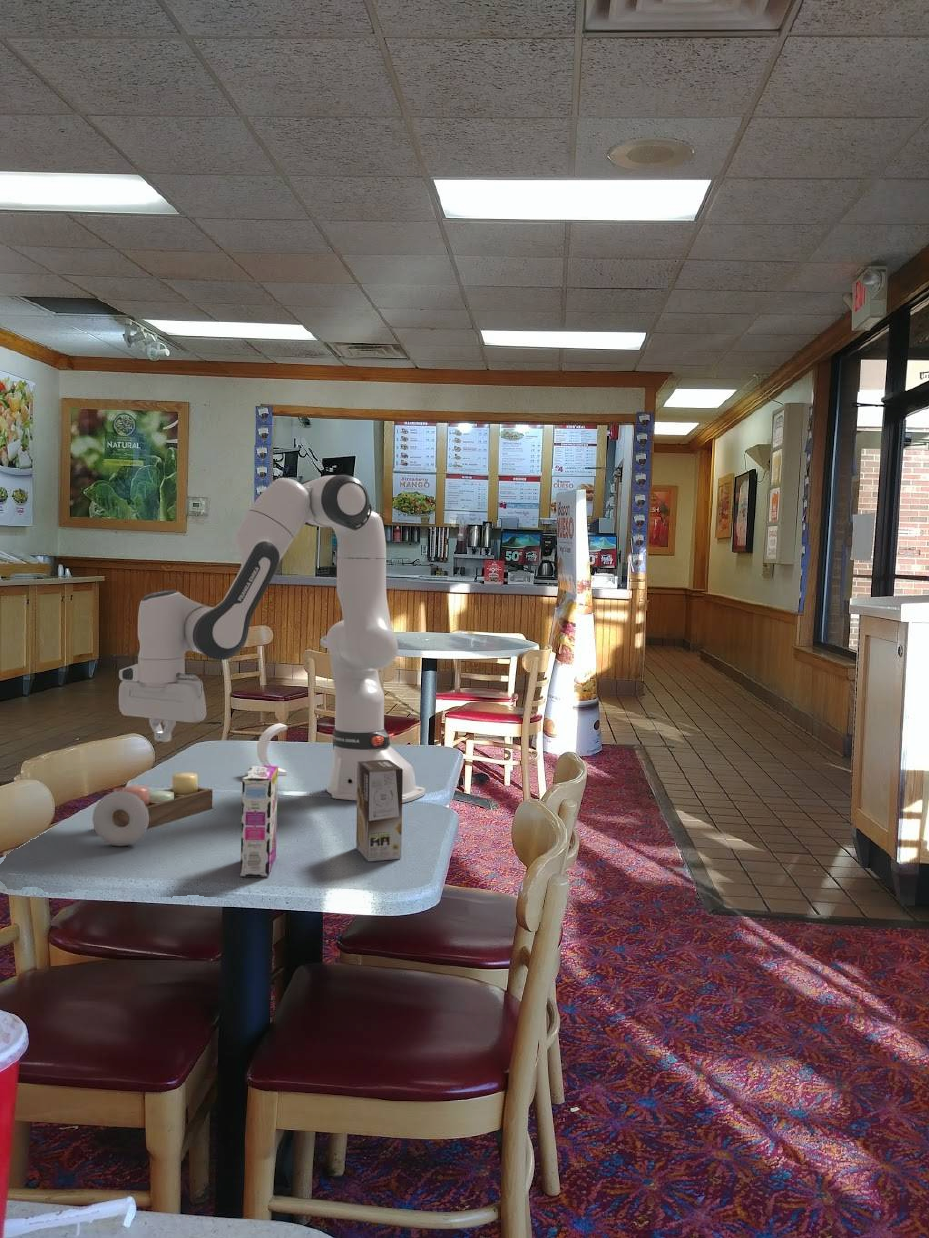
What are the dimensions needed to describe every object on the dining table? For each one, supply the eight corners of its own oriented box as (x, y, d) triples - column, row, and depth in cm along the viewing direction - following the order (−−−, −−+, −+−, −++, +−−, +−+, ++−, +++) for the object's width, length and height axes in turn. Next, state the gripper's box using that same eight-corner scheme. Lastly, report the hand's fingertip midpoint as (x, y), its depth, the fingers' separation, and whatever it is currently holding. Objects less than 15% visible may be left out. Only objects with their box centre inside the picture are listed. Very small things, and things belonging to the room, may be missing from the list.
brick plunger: (154, 807, 188) (154, 787, 188) (134, 813, 183) (135, 792, 183) (135, 804, 190) (135, 784, 190) (115, 809, 186) (115, 789, 186)
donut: (151, 843, 175) (151, 789, 175) (145, 849, 172) (145, 793, 171) (96, 842, 175) (96, 788, 175) (89, 848, 172) (89, 792, 171)
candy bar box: (270, 877, 158) (271, 778, 157) (239, 878, 157) (240, 778, 156) (278, 857, 169) (279, 764, 168) (249, 857, 168) (249, 764, 167)
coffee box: (402, 859, 169) (404, 768, 168) (367, 862, 167) (369, 771, 166) (387, 844, 178) (389, 758, 177) (354, 847, 175) (355, 760, 175)
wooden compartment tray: (212, 808, 201) (212, 789, 201) (134, 832, 182) (134, 811, 182) (183, 803, 204) (184, 784, 204) (104, 826, 185) (104, 806, 185)
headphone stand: (286, 775, 234) (287, 726, 233) (262, 777, 231) (263, 727, 230) (280, 771, 238) (281, 723, 237) (256, 773, 235) (257, 724, 234)
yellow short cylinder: (202, 793, 200) (202, 774, 200) (185, 798, 196) (185, 779, 195) (184, 790, 202) (184, 771, 202) (167, 795, 198) (167, 776, 198)
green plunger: (179, 812, 194) (179, 792, 194) (161, 817, 190) (161, 797, 189) (160, 809, 196) (160, 789, 196) (142, 814, 192) (142, 794, 192)
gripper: (213, 673, 190) (213, 742, 190) (136, 667, 199) (137, 733, 200) (190, 676, 184) (191, 748, 185) (112, 670, 193) (113, 738, 194)
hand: (162, 740), depth 192 cm, fingers closed
